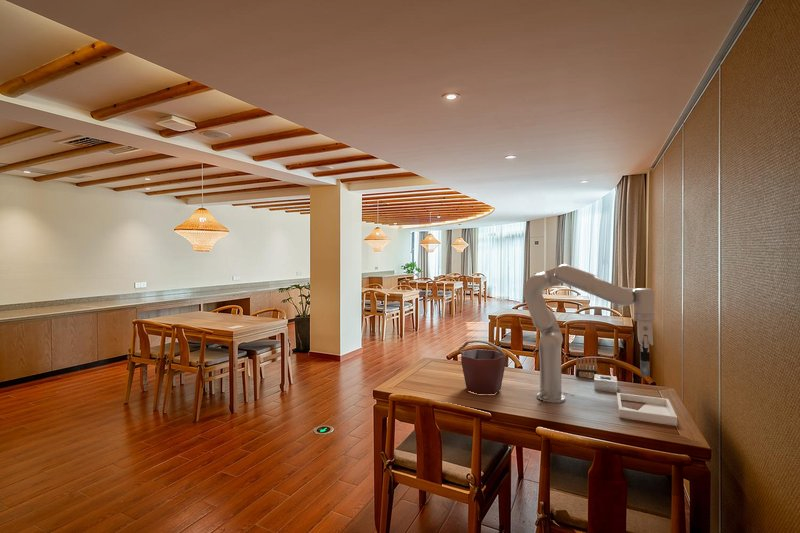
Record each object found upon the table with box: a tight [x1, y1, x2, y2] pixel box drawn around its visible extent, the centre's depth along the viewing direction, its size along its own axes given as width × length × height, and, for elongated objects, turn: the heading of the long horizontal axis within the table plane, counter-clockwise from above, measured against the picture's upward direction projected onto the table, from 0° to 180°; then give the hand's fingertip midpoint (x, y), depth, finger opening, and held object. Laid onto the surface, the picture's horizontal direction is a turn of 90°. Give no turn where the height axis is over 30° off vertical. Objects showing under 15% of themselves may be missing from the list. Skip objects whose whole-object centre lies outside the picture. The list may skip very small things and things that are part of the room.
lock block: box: [593, 373, 618, 394], centre depth 197 cm, size 10×10×6 cm
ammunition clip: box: [575, 356, 598, 379], centre depth 216 cm, size 11×2×12 cm, turn 67°
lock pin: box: [639, 346, 650, 377], centre depth 169 cm, size 3×3×12 cm
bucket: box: [458, 340, 507, 394], centre depth 201 cm, size 24×22×25 cm
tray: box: [616, 392, 678, 427], centre depth 169 cm, size 22×20×4 cm
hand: (644, 359), depth 169 cm, fingers closed on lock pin, 3 cm apart
